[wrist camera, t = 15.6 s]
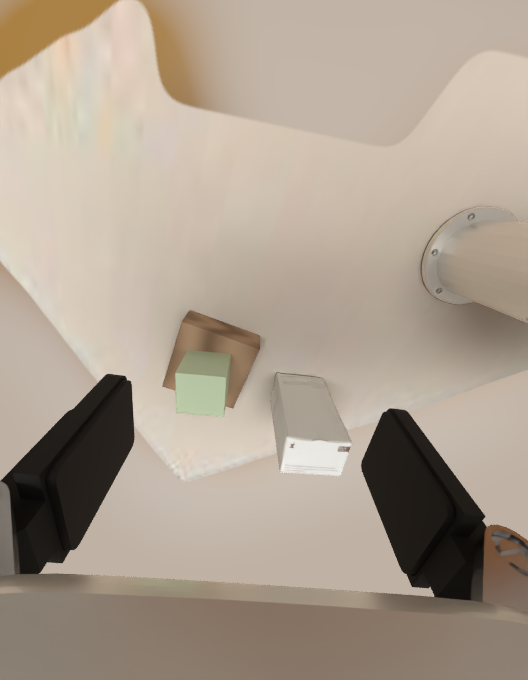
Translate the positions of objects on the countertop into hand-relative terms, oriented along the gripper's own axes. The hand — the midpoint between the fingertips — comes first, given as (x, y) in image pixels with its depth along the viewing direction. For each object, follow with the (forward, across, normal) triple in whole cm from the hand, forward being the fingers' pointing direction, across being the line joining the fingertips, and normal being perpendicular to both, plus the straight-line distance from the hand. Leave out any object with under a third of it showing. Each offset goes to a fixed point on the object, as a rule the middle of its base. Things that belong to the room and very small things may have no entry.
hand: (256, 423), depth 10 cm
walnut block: (+31, +5, +14) cm, 34 cm away
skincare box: (+31, -9, +18) cm, 37 cm away
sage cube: (+26, +5, +14) cm, 30 cm away
